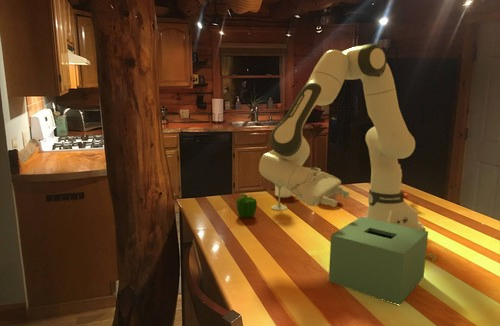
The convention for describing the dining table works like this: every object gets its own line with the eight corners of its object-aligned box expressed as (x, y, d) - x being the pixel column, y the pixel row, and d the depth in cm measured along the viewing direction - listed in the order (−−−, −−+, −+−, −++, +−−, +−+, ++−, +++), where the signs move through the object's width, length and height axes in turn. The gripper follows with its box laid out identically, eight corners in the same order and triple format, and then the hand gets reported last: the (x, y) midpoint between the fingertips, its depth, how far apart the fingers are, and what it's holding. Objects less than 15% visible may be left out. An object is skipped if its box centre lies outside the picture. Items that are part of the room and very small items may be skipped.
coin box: (328, 281, 114) (331, 234, 111) (358, 258, 129) (361, 216, 127) (399, 306, 102) (404, 254, 99) (423, 277, 117) (428, 231, 114)
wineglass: (290, 207, 182) (291, 161, 178) (282, 211, 176) (283, 164, 171) (275, 204, 186) (276, 159, 182) (267, 208, 180) (268, 162, 175)
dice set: (436, 263, 128) (436, 257, 127) (418, 260, 130) (419, 254, 129) (436, 257, 132) (437, 251, 132) (419, 254, 134) (420, 248, 134)
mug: (297, 199, 195) (298, 177, 192) (273, 197, 198) (273, 175, 196) (300, 194, 203) (301, 173, 201) (277, 192, 206) (277, 172, 204)
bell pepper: (257, 213, 172) (257, 191, 170) (255, 220, 164) (256, 196, 162) (237, 213, 173) (237, 190, 171) (235, 219, 165) (235, 195, 163)
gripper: (290, 180, 119) (332, 200, 113) (319, 166, 136) (357, 182, 129) (284, 199, 121) (325, 219, 115) (314, 182, 138) (351, 199, 132)
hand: (342, 199), depth 122 cm, fingers open, 8 cm apart
